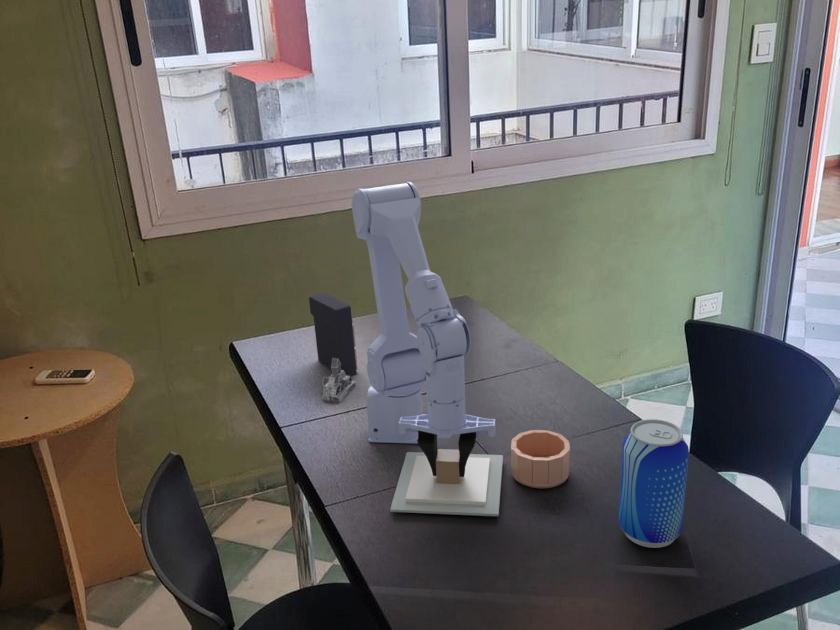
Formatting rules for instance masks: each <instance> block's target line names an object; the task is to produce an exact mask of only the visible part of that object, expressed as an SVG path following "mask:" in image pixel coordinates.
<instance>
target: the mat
mask: <svg viewBox="0 0 840 630" xmlns="http://www.w3.org/2000/svg"><path fill="white" fill-rule="evenodd" d="M417 456H426V455H425V454H424V452H423V451H422V452H421V451H420V452H418V451H417V452H415V451H414V452H413V451H407V452H406V454H405V456H404V457H405V458H404V461H403V464H402V468H401V471H400V475H399V478H398V481H397V484H396V488H395V492H394V495H393V497H392V502H391V506H390V510H389V511H390V513H391V512H392V513H393V512H394V513H410V514H411V513H413V514H414V513H416V514H432V515H433V514H435V515H436V514H437V515H438V514H439V515H460V516H477V517H478V516H479V517H480V516H481V517H499V516H500V502H501V489H502V477H503V463H504V455H503V454H479V453H476V454H474V453H470V455H469V457H475V458H490V467H489V477H488V486H487V496H486V505H468V504H444V503H420V502H406V501H405V498H406V494H407V490H408V487H409V483H410V479H411V475H412V472H413V468H414V464H415V460H416V457H417Z"/></svg>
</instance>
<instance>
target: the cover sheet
mask: <svg viewBox="0 0 840 630" xmlns="http://www.w3.org/2000/svg"><path fill="white" fill-rule="evenodd" d="M437 451H438V453H437V458H436V476H433V473H432V469H431V466H430V464H429V461H428V459H427V457H426V456H417V457H416V460H415V464H414V468H413V472H412V475H411V479H410V483H409V487H408V490H407V494H406V498H405V501H406V502H420V503H444V504H468V505H486V496H487V486H488V477H489V467H490V458H475V457H468V460H467V463H466V466H465V475H464V477H460V474H459V467H460V456H459V449H450V448H447V449H446V448H437Z"/></svg>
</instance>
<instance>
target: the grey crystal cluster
mask: <svg viewBox="0 0 840 630" xmlns="http://www.w3.org/2000/svg"><path fill="white" fill-rule="evenodd" d="M340 365H341V363H340V361H339V359H337V358H332V364H331V368H332V369H331V374H330V376H323V379H322V385H321V386H322V401H328V402H336V403H341V401H342V400H343V399H344V398H345V397H346V396H347V395H349V393H350V391H351V390H353V389H354V387H357V385H356V384H357V382H356V380H353V379H352V377H351V375H349V376H347V375H346V374H345V372H344V370H341V367H340Z"/></svg>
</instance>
